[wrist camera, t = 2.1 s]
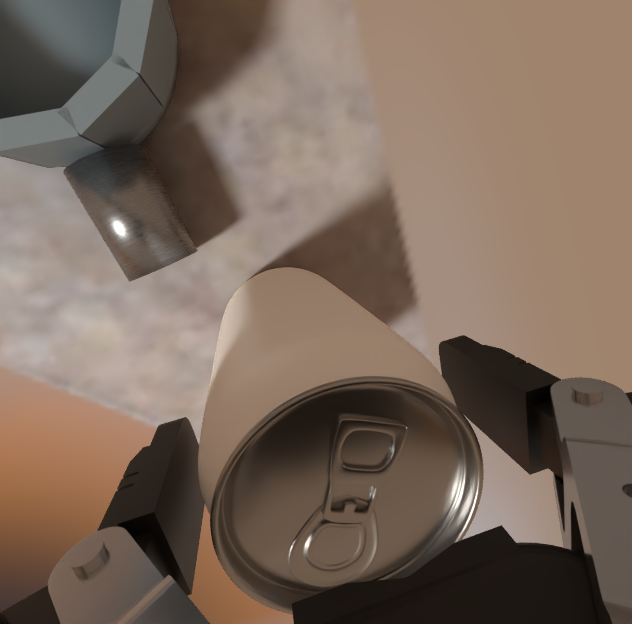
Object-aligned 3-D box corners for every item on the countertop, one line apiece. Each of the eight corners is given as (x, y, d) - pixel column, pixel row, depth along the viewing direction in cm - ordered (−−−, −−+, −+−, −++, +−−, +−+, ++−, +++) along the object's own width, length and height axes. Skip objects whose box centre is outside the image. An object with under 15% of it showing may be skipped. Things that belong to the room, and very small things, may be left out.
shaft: (84, 179, 15) (47, 171, 12) (151, 152, 15) (130, 137, 12) (140, 274, 16) (118, 286, 13) (200, 247, 17) (192, 254, 14)
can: (210, 376, 18) (160, 640, 7) (234, 252, 17) (220, 327, 6) (329, 392, 20) (447, 628, 8) (360, 280, 19) (547, 382, 7)
